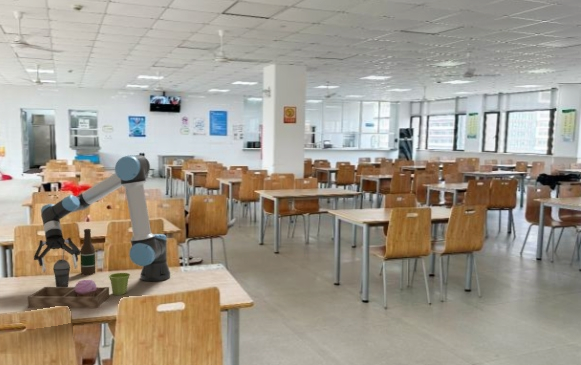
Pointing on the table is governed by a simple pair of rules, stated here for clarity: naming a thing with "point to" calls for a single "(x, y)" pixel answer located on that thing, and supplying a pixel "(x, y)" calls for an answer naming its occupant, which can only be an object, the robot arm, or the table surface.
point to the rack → (66, 298)
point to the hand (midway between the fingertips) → (60, 269)
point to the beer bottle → (87, 254)
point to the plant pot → (119, 282)
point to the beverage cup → (61, 272)
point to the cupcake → (85, 288)
